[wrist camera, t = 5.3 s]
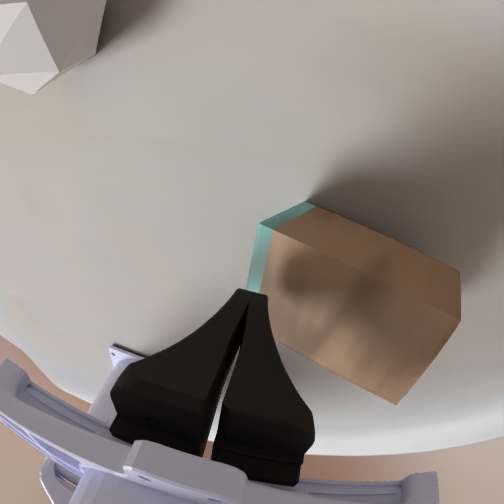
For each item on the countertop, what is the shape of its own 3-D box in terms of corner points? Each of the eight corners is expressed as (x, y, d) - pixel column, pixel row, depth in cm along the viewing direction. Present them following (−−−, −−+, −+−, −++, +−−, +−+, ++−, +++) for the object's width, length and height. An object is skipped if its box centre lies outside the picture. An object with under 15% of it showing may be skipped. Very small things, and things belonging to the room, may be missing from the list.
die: (48, 5, 13) (-43, 79, 10) (84, -69, 7) (-49, 1, 3) (106, 56, 18) (20, 140, 14) (158, -10, 12) (31, 75, 8)
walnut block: (283, 282, 21) (413, 349, 17) (240, 318, 17) (396, 404, 13) (305, 201, 18) (459, 271, 14) (258, 223, 14) (460, 320, 10)
